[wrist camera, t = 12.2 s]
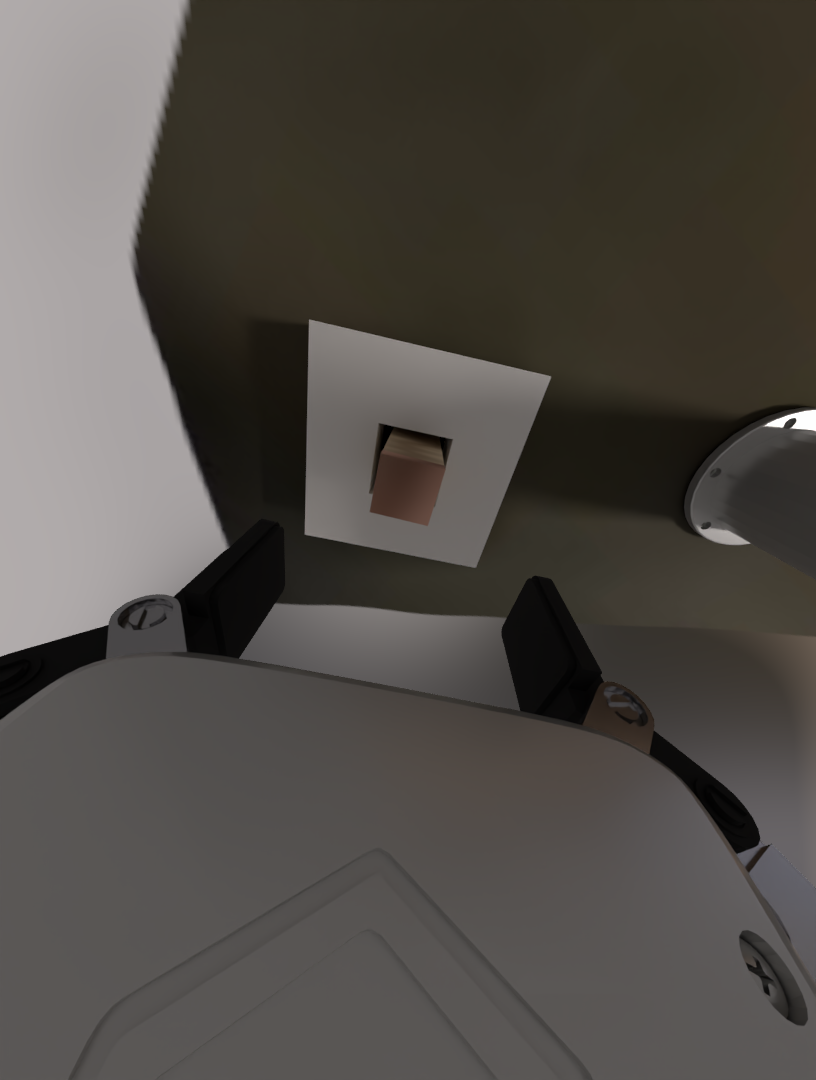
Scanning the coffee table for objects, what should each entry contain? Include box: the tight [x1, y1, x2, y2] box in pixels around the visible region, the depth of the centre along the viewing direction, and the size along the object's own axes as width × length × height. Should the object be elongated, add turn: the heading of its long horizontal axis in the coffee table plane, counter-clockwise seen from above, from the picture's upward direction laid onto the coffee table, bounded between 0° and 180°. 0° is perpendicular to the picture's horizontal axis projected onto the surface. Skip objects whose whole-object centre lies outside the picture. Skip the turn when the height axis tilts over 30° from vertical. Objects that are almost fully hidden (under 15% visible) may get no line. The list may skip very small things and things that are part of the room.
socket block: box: [305, 320, 551, 568], centre depth 25 cm, size 16×16×5 cm
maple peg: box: [370, 427, 446, 526], centre depth 23 cm, size 4×4×10 cm
